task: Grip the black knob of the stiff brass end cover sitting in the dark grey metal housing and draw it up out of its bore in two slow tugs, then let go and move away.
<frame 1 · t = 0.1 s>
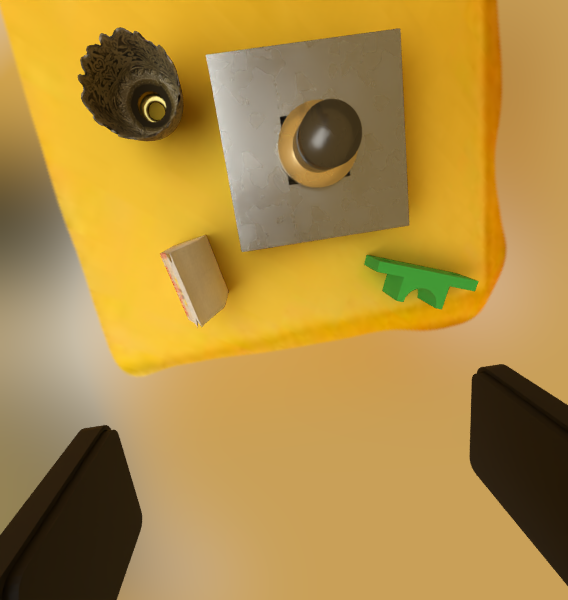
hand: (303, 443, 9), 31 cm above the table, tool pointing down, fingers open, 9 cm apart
housing: (306, 155, 36), on the table
tan milk carton: (202, 269, 39), on the table
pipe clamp: (405, 277, 41), on the table
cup: (157, 111, 34), on the table
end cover: (317, 145, 30), point 7 cm above the table, slide at 0.0 cm
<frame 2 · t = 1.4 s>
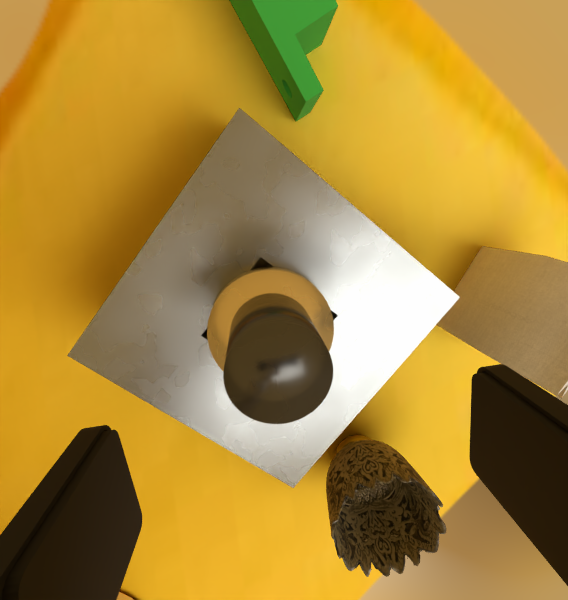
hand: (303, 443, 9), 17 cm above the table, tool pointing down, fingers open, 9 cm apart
housing: (265, 299, 26), on the table
tan milk carton: (474, 295, 28), on the table
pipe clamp: (273, 24, 22), on the table
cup: (353, 448, 30), on the table
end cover: (271, 329, 19), point 7 cm above the table, slide at 0.0 cm
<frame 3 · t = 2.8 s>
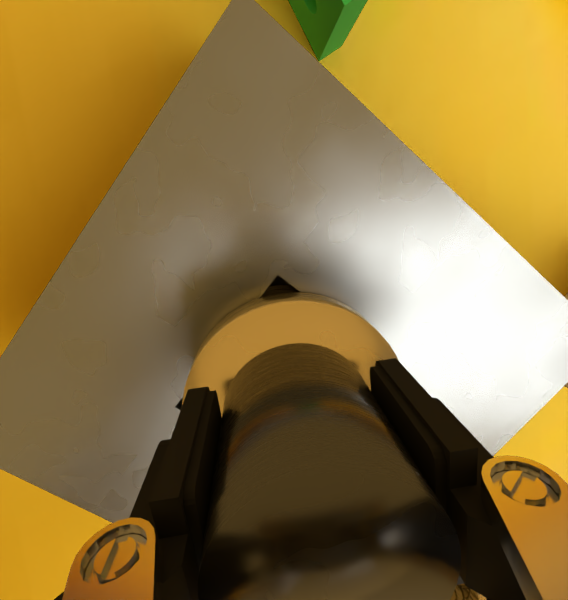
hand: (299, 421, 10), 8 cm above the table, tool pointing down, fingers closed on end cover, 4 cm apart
housing: (279, 328, 18), on the table
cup: (397, 524, 22), on the table
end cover: (295, 400, 11), point 7 cm above the table, slide at 0.0 cm, touching gripper
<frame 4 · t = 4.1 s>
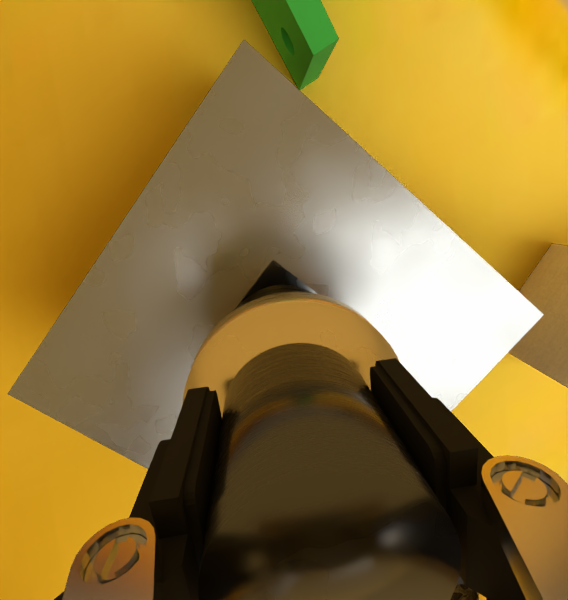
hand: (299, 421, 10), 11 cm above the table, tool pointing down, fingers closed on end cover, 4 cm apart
housing: (276, 310, 20), on the table
tan milk carton: (537, 304, 22), on the table
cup: (380, 487, 25), on the table
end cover: (295, 400, 11), point 10 cm above the table, slide at 2.9 cm, touching gripper
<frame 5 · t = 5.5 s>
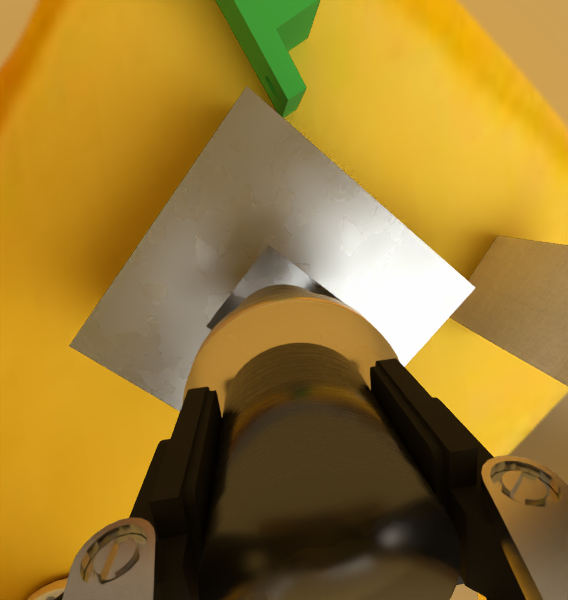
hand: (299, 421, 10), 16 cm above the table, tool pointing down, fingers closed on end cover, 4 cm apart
housing: (272, 289, 25), on the table
tan milk carton: (487, 286, 27), on the table
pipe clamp: (257, 17, 21), on the table
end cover: (295, 400, 11), point 15 cm above the table, slide at 7.8 cm, touching gripper
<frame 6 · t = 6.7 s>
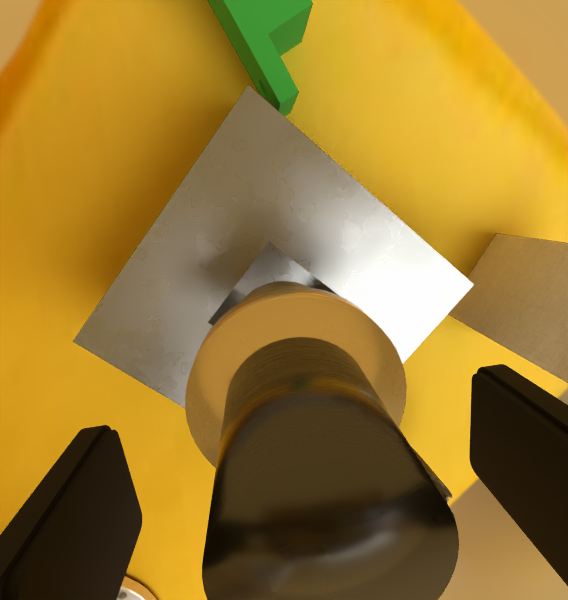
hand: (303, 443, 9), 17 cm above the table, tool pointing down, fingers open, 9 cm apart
housing: (273, 287, 25), on the table
tan milk carton: (486, 283, 27), on the table
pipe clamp: (251, 21, 21), on the table
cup: (360, 438, 30), on the table
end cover: (296, 394, 11), point 15 cm above the table, slide at 7.9 cm
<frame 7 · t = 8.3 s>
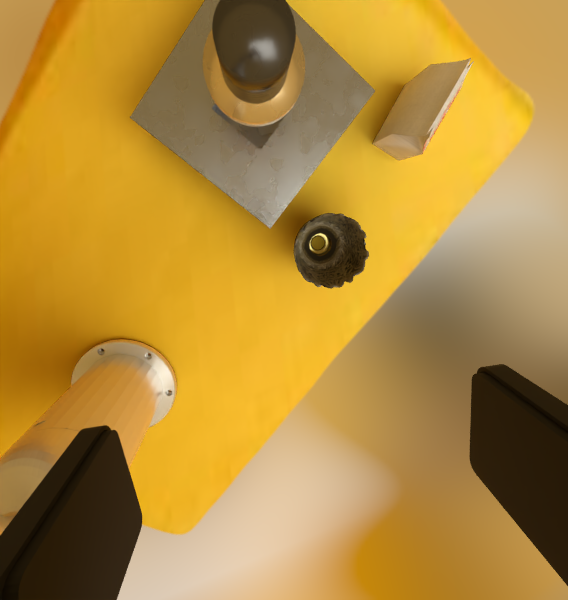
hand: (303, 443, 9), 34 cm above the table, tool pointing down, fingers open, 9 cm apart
housing: (254, 118, 38), on the table
tan milk carton: (401, 124, 40), on the table
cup: (317, 242, 42), on the table
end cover: (254, 69, 24), point 15 cm above the table, slide at 7.9 cm
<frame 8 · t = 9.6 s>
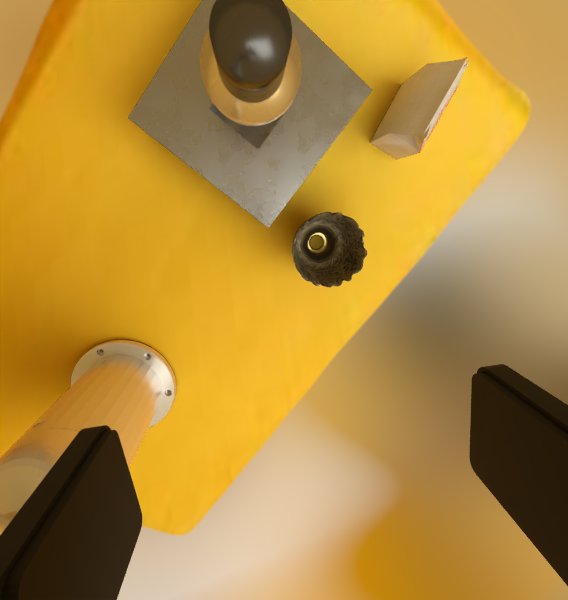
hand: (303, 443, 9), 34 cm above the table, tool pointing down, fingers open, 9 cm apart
housing: (252, 118, 38), on the table
tan milk carton: (398, 123, 40), on the table
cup: (316, 242, 42), on the table
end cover: (251, 69, 24), point 15 cm above the table, slide at 7.9 cm
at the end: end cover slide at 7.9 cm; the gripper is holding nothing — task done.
